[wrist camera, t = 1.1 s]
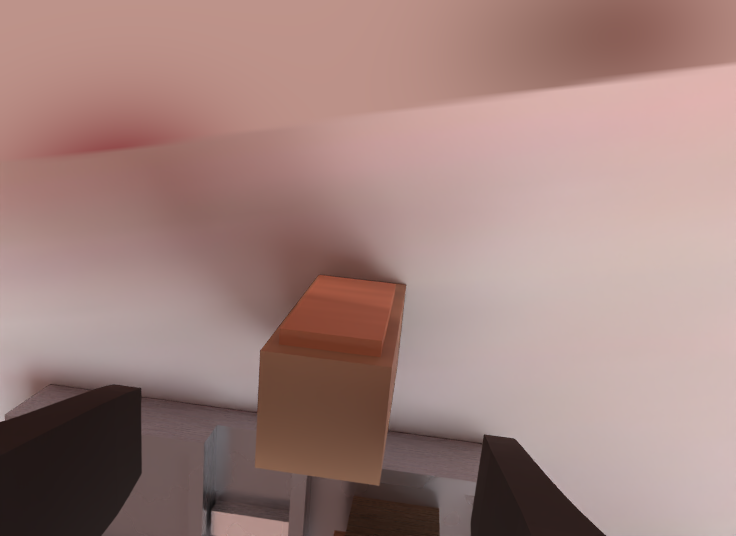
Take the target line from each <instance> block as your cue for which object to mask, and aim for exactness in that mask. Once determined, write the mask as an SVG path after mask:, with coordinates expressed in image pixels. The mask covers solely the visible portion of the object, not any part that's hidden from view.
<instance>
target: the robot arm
mask: <svg viewBox="0 0 736 536" xmlns="http://www.w3.org/2000/svg"><path fill="white" fill-rule="evenodd" d="M141 474H142V436H141V388H136V387H129V386H121V385H109V386H105V387H101V388H98V389H94V390H91V391H88V392H85V393H82V394H79V395H76V396H74V397H71V398H68V399H65V400H62V401H60V402H57V403H54V404H51V405H48V406H46V407H43V408H40V409H37V410H35V411H32V412H29V413H26V414H23V415H21V416H18V417H15V418H12V419H9V420H6V421H3V422H0V536H102V534H103V533H104V532H105V530H106V529H107V528H108V527H109V525H110V524H111V523H112V521H113V520H114V519H115V517H116V516H117V515H118V513H119V512H120V510H121V508H122V507H123V505H124V503H125V502H126V500H127V499H128V497H129V495H130V494H131V492H132V490H133V488H134V486H135V485H136V483H137V481H138V479H139V478H140V476H141ZM470 523H471V536H606V535H605V534H603V533H602V532H601V531H600V530H599V529H598V528H597V527H596V526H595V525H594V524H593V523H592V522H591V521H590V520H589V519H588V518H587V517H586V516H584V515H583V514H582V513H581V512H580V511H579V510H578V509H577V508H576V507H575V506H574V505H573V504H572V503H571V502H570V501H569V499H568V498H567V497H566V496H565V495H564V494H563V493H562V492H561V491H560V490H559V489H558V488H557V487H556V485H555V484H554V483H553V482H552V481H551V480H550V479H549V478H548V477H547V475H546V474H545V473H544V472H543V471H542V470H541V469H540V467H539V466H538V465H537V464H536V463H535V462H534V460H533V459H532V458H531V457H530V456H529V454H528V453H527V452H526V451H525V450H524V449H523V447H522V446H521V445H520V444H519V443H518V442H517V441H516V439H513V438H506V437H498V436H491V435H484V438H483V444H482V451H481V457H480V464H479V470H478V477H477V483H476V490H475V496H474V503H473V509H472V516H471V522H470Z"/></svg>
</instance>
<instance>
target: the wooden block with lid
mask: <svg viewBox="0 0 736 536" xmlns="http://www.w3.org/2000/svg"><path fill="white" fill-rule="evenodd" d="M405 291H406V285H403V284H395V283H386V282H377V281H369V280H360V279H351V278H343V277H334V276H325V275H318V277H317V278H316V279H315V280H314V282H313V283H312V284H311V286H310V287H309V288H308V290H307V291H306V292H305V293H304V295H303V296H302V297H301V299H300V300H299V301H298V303H297V304H296V305H295V306H294V308H293V309H292V310H291V312H290V313H289V314H288V315H287V317H286V318H285V319H284V321H283V322H282V323H281V325H280V326H279V327H278V328H277V330H276V331H275V332H274V334H273V335H272V336H271V338H270V339H269V340H268V341H267V343H266V344H265V345H264V347H263V348H262V349H261V350H260V367H259V389H258V410H257V431H256V452H255V468H260V469H267V470H274V471H281V472H288V473H295V474H302V475H309V476H316V477H323V478H329V479H336V480H343V481H350V482H357V483H364V484H371V485H378V486H379V485H380V478H381V471H382V465H383V458H384V451H385V445H386V438H387V431H388V425H389V418H390V411H391V405H392V398H393V391H394V385H395V378H396V371H397V364H398V355H399V346H400V337H401V327H402V318H403V309H404V300H405Z"/></svg>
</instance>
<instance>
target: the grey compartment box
mask: <svg viewBox="0 0 736 536" xmlns="http://www.w3.org/2000/svg"><path fill="white" fill-rule="evenodd" d="M88 391H91V390H86V389H79V388H72V387H65V386H57V385H48V386H47V387H45V388H44V389H42V390H41V391H39V392H38V393H36V394H35V395H33V396H32V397H31V398H29V399H28V400H26V401H25V402H23V403H22V404H20V405H19V406H17V407H16V408H14V409H13V410H11V411H10V412H8V413H7V414H5V421H6V420H9V419H12V418H15V417H18V416H21V415H23V414H26V413H29V412H32V411H35V410H37V409H40V408H43V407H46V406H48V405H51V404H54V403H57V402H60V401H62V400H65V399H68V398H71V397H74V396H76V395H79V394H82V393H85V392H88ZM256 431H257V413H254V412H246V411H239V410H232V409H225V408H217V407H210V406H203V405H196V404H188V403H181V402H174V401H166V400H159V399H152V398H145V397H141V436H142V474H141V476H140V478H139V479H138V481H137V483H136V485H135V486H134V488H133V490H132V492H131V494H130V495H129V497H128V499H127V500H126V502H125V503H124V505H123V507H122V508H121V510H120V512H119V513H118V515H117V516H116V517H115V519H114V520H113V521H112V523H111V524H110V525H109V527H108V528H107V529H106V530H105V532H104V533H103V534H102V536H471V523H470V522H471V516H472V509H473V503H474V496H475V490H476V483H477V477H478V470H479V464H480V457H481V451H482V444H479V443H472V442H465V441H457V440H450V439H443V438H436V437H428V436H421V435H414V434H406V433H399V432H392V431H387V438H386V445H385V451H384V458H383V465H382V471H381V478H380V485H379V486H378V485H371V484H364V483H357V482H350V481H343V480H336V479H329V478H323V477H316V476H309V475H302V474H295V473H288V472H281V471H274V470H267V469H260V468H255V452H256Z"/></svg>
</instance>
